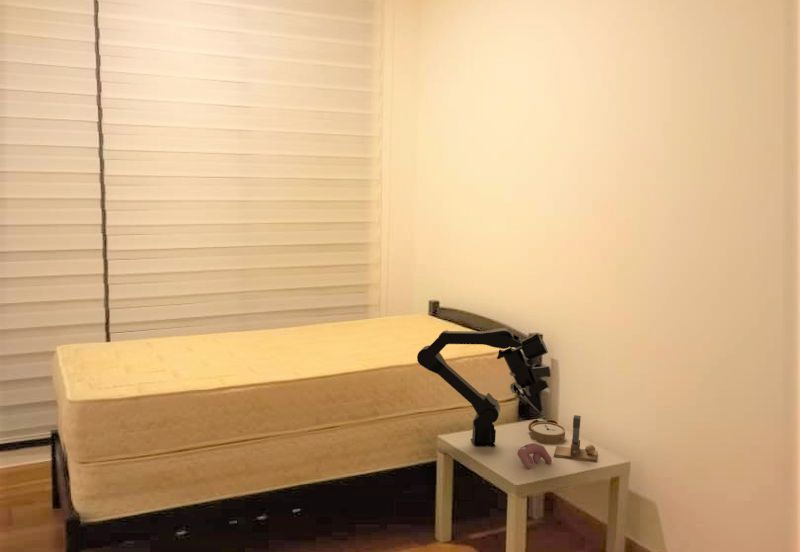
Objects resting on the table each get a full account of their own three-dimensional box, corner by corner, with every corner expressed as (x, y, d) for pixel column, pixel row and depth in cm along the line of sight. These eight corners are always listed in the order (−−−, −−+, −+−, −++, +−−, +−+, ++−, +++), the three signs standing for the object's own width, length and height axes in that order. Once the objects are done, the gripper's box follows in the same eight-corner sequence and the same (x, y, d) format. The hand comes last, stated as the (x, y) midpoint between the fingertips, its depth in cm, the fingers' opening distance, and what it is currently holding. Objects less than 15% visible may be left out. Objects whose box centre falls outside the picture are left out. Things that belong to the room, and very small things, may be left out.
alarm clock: (535, 435, 238) (524, 413, 252) (534, 449, 239) (523, 426, 253) (570, 435, 239) (557, 413, 253) (568, 449, 240) (555, 426, 255)
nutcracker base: (553, 456, 227) (554, 443, 226) (556, 448, 234) (556, 436, 234) (596, 462, 223) (597, 449, 223) (597, 453, 231) (597, 440, 230)
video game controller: (544, 465, 224) (537, 442, 225) (554, 463, 220) (547, 439, 222) (519, 471, 218) (513, 447, 220) (529, 469, 215) (522, 444, 216)
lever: (571, 451, 227) (573, 418, 226) (572, 448, 231) (574, 415, 229) (578, 452, 227) (580, 418, 226) (578, 448, 230) (580, 415, 229)
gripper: (551, 354, 224) (574, 401, 224) (529, 354, 243) (551, 397, 242) (519, 371, 222) (542, 418, 222) (500, 369, 240) (521, 413, 240)
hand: (540, 411), depth 232 cm, fingers closed
